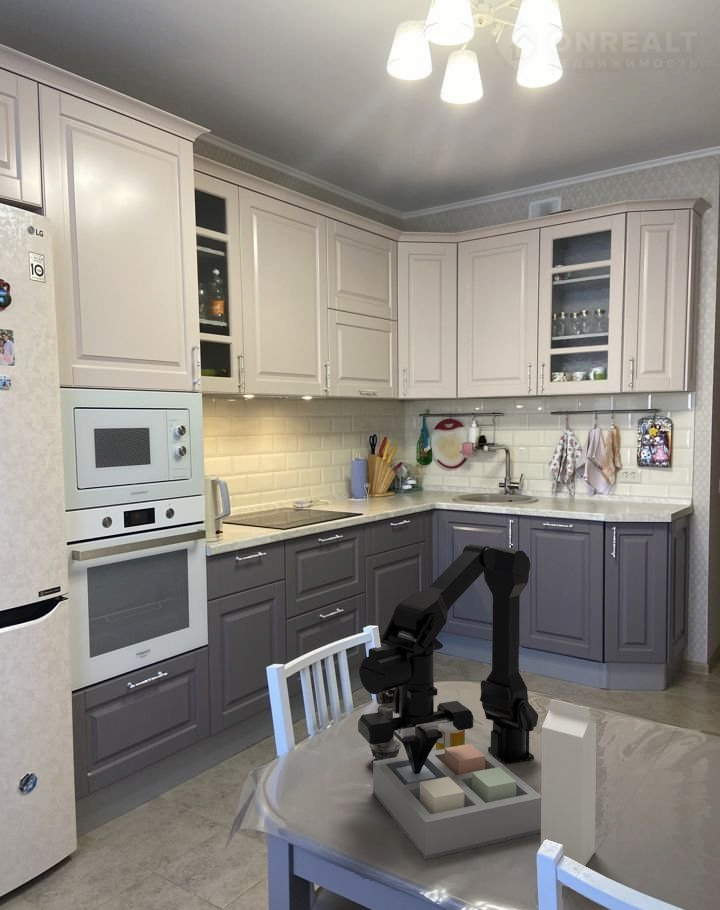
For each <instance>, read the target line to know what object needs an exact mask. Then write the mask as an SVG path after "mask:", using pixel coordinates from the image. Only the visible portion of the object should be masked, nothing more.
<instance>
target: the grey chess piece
mask: <svg viewBox="0 0 720 910" xmlns="http://www.w3.org/2000/svg"><path fill="white" fill-rule="evenodd" d="M377 712H381V713H382V714H383V715H385V716H386V717H387V718H388V719H390V718H394V712H393V708H389V709H387V705H386V704H379V706H378V707H377ZM394 737H395V736H394ZM394 737H393V738H392V739H391V740H390V742H387V743H381V744H375V745H374V744H369V743H368V744H369V748H370V751H371V753H372V757H374V758H373V759H372V760H371V762H370V767H372V768H373V761H378V760H384V759H389V758H395V757H398V756H399V752H400V749H401V746H402V743H401V742H400V741H399V740H398V739H395V738H394Z"/></svg>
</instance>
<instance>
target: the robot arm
mask: <svg viewBox="0 0 720 910" xmlns="http://www.w3.org/2000/svg"><path fill="white" fill-rule="evenodd" d="M530 569H531V562H530V556H529V555H527V553H526V552H525V551H524V550H522V549H514V548H513V549H512V548H507V547H499V546H492V547H491V546H489V545H484V544H479V543H478V544H477V543H470V544H467V545H465V547H463V550H462V553H461V554H460V555H459V556H458V557H457V558H456V559H455V560H454V561H453V562H452V563H451V564H450V565H449V566H448V567H447V568H446V569H445V570H444V571H443V572H442V573H441V574H440V575H439V576H438V577H437V578H436V579H435V580H434V581H433V582H432V583H431V584H430V585H429V586H428V587H427V588H425V589H423V590H421V591H417V592H414V593H413V594H410V595H409V596H407V597H406V598H405V599H403V600H402V601H400V603H398V605H396V607H395V608H394V611H393V613H392V614H393V615H392V616H391V619H389V623H388V625H387V627H386V629H385V631H384V632H383V635H382V638H381V639H380V644H381V645H383V646H379V647H370V648H369V649H368V656H367V657H364V658H363V660H362V661H361V663H360V667H359V668H358V672H359V678H360V682H361V684H362V686H363V687H364V689H365V690H366V691H367V693H369V694H371V695H375V698H376V699H375V700H376V703H377V705H382V704H386V705H387V709H389V708H393V714H395V715H396V714H398V716H399V717H398V716H397V717H393V718H390V719H388V718H387V717H386V716H385V715H383V714H382V713H381V712H378V711H377V712H373V713H372V712H371V713H365V714H361V716H360V717H359V719H358V721H357V732H358V733H360V736H362V737H363V738H364V739H365V740H366V742H367V743H368V744H374V745H375V744H381V743H387V742H390V740H391V739H392V738H393V737H395V738H396V740H397V741H398V742H399V743H401V744H402V745H403V747H404V750H405V753H406V756H408V759H409V762H410V765H411V768H412V771H413V772H414V774H419V773H420V771H421V769H422V767H423V765H424V763H425V761H426V759H427V757H428V755H429V753H430V752H431V751H433V748H434V746H436V742H437V740H438V739H440V738H442V737H443V734H442V733H441V732H440V731H439V724H440V723H446V722H452V721H453V726H454V727H455V728H456V729H457V730H465V731H466V730H469V729H470V730H471V729H473V728H474V714H473V712H472V711H471V710H470V709H469V708H468V707H466V706H465V705H463V704H462V703H461V702H459V701H458V700H454V701H453V700H452V701H445V702H441V703H439V704H438V705H437V707H436V708H437V709H436V711H434V708H435V707H434V706H435V704H434V703H435V702H434V701H435V699H434V698H435V696H438V688H436V687H435V651H437V650H442V649H443V647H444V645H443V643H442V642H440V641H439V640H438V639H437V637H438V636H439V634H440V632H441V631H442V629H443V628H444V626H445V625H446V623H447V622H448V612H449V610H450V608H451V607H452V606H454V604H455V603H456V602H457V601H458V600H459V599H461V596H462V595H463V594H464V593H465V592H466V591H467V590H468V589H469V588H470V587H471V586H472V585H473V584H474V582H475V581H477V579H478V578H479V577H480V576H481V575H482V574H483V578H484V582H485V583H486V585H487V588H488V589H489V591H490V593H491V596H492V603H491V604H492V605H491V606H492V610H491V611H492V613H491V614H492V615H491V616H492V617H491V618H492V619H491V623H492V624H491V625H492V626H491V633H492V634H491V671H490V673H489V674H488V676H487V677H486V679H483V680H481V681H480V698H479V701H480V702H481V706H482V709H483V711H484V716H485V719H486V720H487V721H489V720H490V721H492V730H490V746H488V748H487V750H488V752H490V753H491V755H492V756H493V755H494V757H496V758H497V759H499V760H500V761H501V762H502V764H503V763H504V764H506V765H508V764H515V763H518V762H525V761H530V760H534V759H535V755H534V754H532V752H530V732H533V731H534V730H535V727H537V725H538V721H539V714H538V713H537V711H536V710H535V709H534V707H533V706H532V705H531V703H529V694H528V687H527V685H526V683H525V681H524V679H523V677H522V676H521V674H520V669H519V667H520V665H519V663H520V662H519V661H520V659H519V658H520V654H519V653H520V596H521V594H522V592H523V591H524V589H525V588H526V586H527V585H528V583H529V577H530ZM399 635H401V636H403V637H401V636H399ZM404 636H405V637H408V638H411V639H414V640H411V639H408V638H405V637H404Z"/></svg>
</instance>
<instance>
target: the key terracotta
mask: <svg viewBox="0 0 720 910" xmlns="http://www.w3.org/2000/svg"><path fill="white" fill-rule="evenodd" d="M471 744H472V743H465V745H460V746H454V747H449V748H445V766H446V767H448V768H449V769H450V770H451V771H452V772H453V773H454V774H455V775H460V774H465V773H470V772H476V771H481V770H485V755H483V754H482V753H481V752H480V751H478V750H477V749H476V748H475V747H474V746H472V745H471Z"/></svg>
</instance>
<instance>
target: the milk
mask: <svg viewBox="0 0 720 910" xmlns="http://www.w3.org/2000/svg"><path fill="white" fill-rule="evenodd" d="M548 708H549V710H548V711H547V714H546V717H545V718H544V721H543V723H542V725H541V770H540V771H541V781H540V782H541V785H540V788H541V790H540V791H541V792H540V795H541V833H540V844H541V843H542V842H543V841H544V840H546V839H548V840H551V841H554V842H557V843H561V844H563V845H564V854H565V855H566V856H568V857H570V858H572V859H574V860H576V861H578V862H579V863H581V864H583V865H585V866H587V864H588V863H589V861H590V860H591V858H592V857H593V855H594V854H595V852H596V798H597V797H596V793H597V792H596V791H597V790H596V782H597V779H596V777H597V773H596V772H597V771H596V770H597V723H595V722H594V721H593V720H592V719H591V710H590V708H589V707H587V706H581V705H577V704H574V703H573V704H572V703H569V702H565V701H561V700H555V699H553V698H552V699H550V700H549V707H548Z"/></svg>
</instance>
